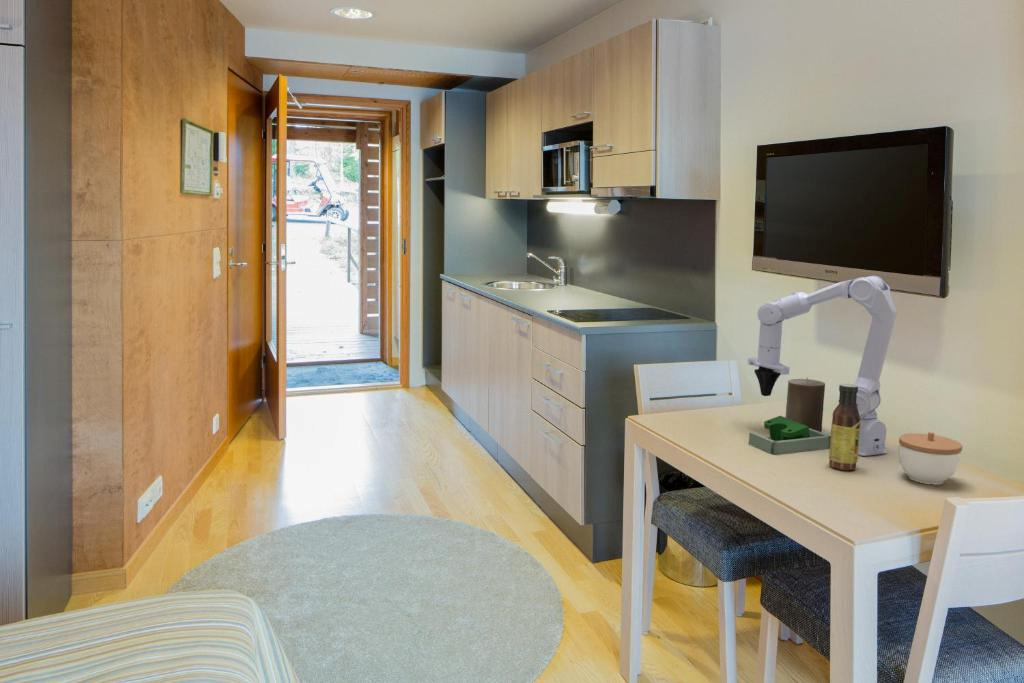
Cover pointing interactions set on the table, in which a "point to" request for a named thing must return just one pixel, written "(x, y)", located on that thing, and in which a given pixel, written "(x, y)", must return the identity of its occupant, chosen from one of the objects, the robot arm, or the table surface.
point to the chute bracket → (791, 443)
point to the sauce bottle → (845, 430)
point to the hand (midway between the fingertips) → (765, 395)
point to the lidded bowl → (929, 457)
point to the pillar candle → (806, 402)
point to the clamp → (786, 429)
